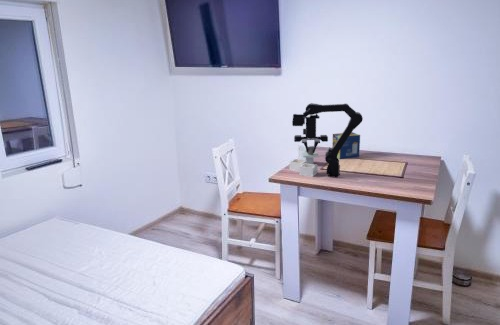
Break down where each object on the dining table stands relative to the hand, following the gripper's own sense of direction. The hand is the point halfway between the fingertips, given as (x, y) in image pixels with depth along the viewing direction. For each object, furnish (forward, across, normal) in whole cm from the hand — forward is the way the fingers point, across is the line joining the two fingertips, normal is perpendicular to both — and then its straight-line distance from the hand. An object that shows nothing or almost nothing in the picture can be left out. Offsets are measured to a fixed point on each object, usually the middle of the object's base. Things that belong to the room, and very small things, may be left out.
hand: (310, 153), depth 214 cm
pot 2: (+13, +1, +2) cm, 13 cm away
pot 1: (+13, +7, -8) cm, 16 cm away
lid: (+1, 0, 0) cm, 1 cm away
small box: (+13, +2, -20) cm, 24 cm away
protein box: (+13, -25, -43) cm, 52 cm away
